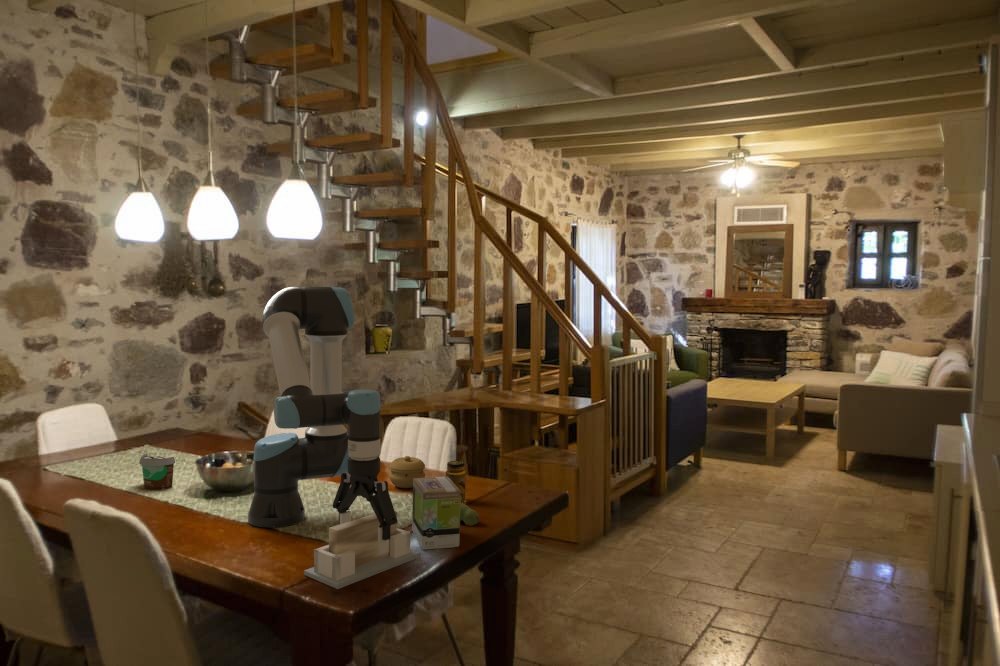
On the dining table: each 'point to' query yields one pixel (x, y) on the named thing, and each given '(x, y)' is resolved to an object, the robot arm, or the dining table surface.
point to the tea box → (436, 512)
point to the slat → (358, 539)
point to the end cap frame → (343, 570)
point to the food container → (157, 472)
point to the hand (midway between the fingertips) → (363, 546)
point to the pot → (406, 471)
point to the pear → (468, 515)
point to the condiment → (457, 476)
